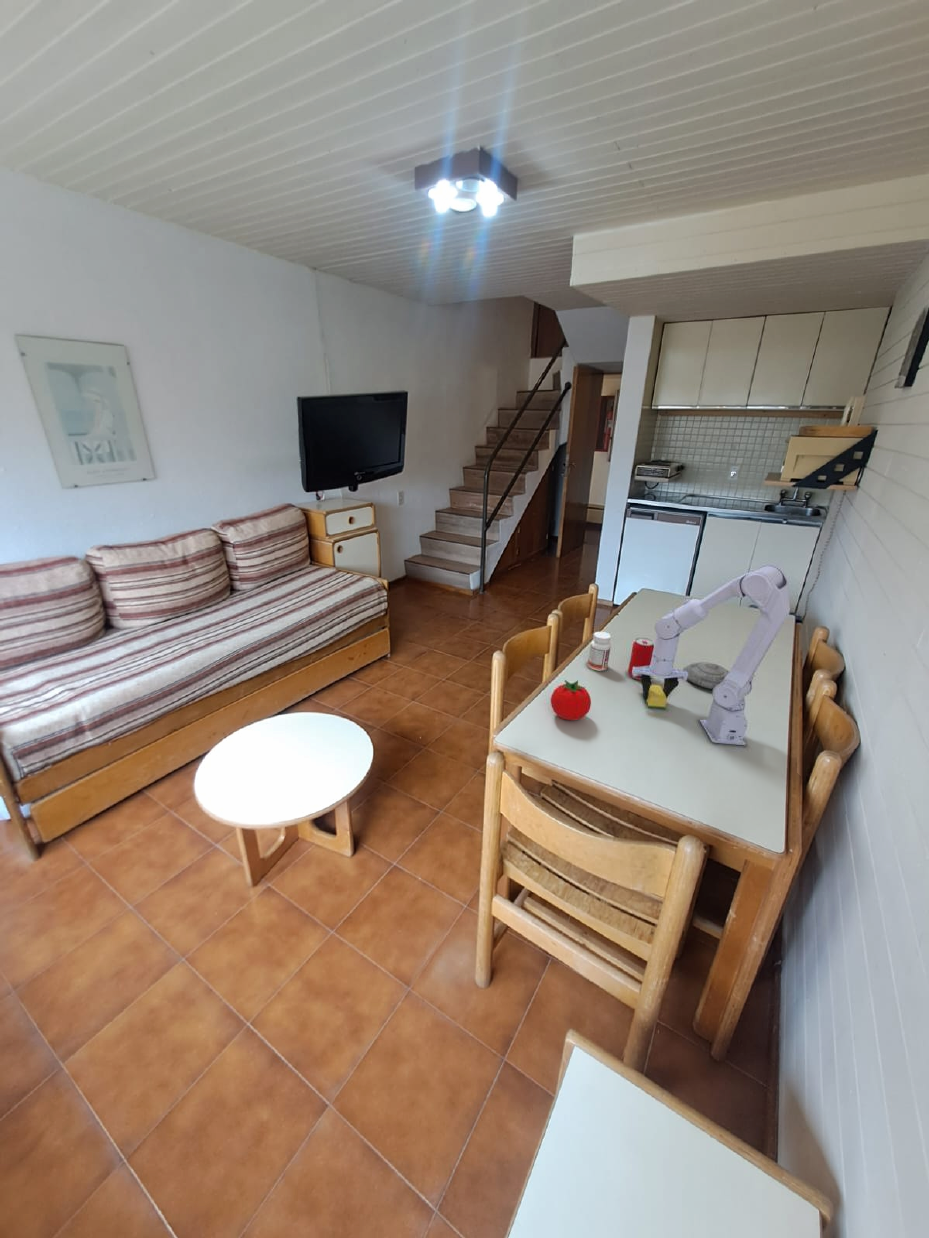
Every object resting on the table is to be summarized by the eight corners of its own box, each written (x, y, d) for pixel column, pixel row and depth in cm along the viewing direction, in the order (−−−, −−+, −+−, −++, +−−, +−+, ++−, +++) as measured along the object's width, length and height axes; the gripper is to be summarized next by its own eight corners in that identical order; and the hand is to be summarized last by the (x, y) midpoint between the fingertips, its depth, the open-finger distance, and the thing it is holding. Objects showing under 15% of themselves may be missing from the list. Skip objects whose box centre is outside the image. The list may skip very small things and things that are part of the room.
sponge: (664, 709, 137) (667, 698, 135) (648, 707, 137) (650, 697, 136) (658, 696, 143) (660, 685, 142) (642, 694, 143) (644, 684, 142)
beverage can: (645, 671, 156) (652, 637, 151) (650, 681, 150) (657, 646, 146) (625, 670, 157) (632, 636, 152) (629, 679, 151) (636, 644, 146)
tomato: (594, 726, 128) (600, 693, 124) (555, 729, 126) (560, 695, 122) (580, 704, 137) (584, 673, 133) (544, 706, 136) (547, 675, 132)
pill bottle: (601, 661, 162) (606, 630, 157) (610, 670, 156) (616, 638, 152) (584, 662, 160) (588, 631, 156) (592, 672, 155) (597, 639, 150)
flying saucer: (673, 678, 153) (676, 662, 151) (696, 664, 162) (700, 649, 160) (721, 699, 142) (725, 682, 140) (743, 683, 151) (748, 668, 149)
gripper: (686, 651, 137) (676, 693, 143) (633, 647, 138) (625, 689, 144) (694, 663, 131) (683, 706, 136) (638, 659, 132) (630, 702, 137)
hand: (654, 698), depth 139 cm, fingers closed on sponge, 4 cm apart
